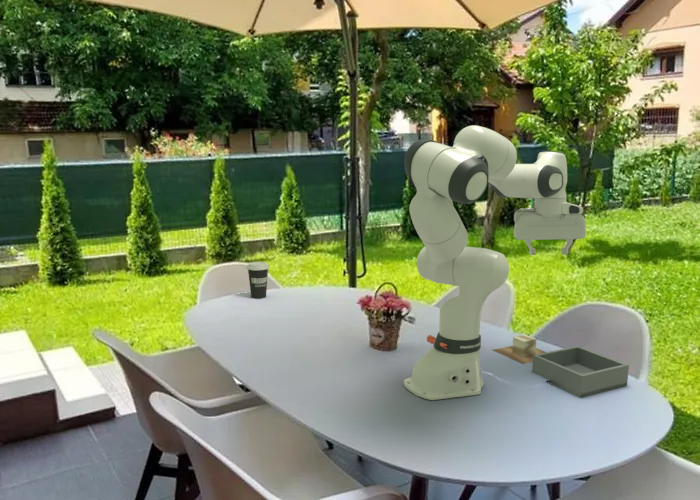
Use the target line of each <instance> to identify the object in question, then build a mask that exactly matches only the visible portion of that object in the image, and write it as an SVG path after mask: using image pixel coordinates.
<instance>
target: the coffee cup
mask: <svg viewBox="0 0 700 500" xmlns="http://www.w3.org/2000/svg"><path fill="white" fill-rule="evenodd" d="M269 267H270V266H269V264H268V262H265V261H253V262H252V261H251V262H249V263H248V265H247V267H246V269H247V272H248V281H249V289H250V297H251V298H252V299H257V300H259V299H260V300H261V299H265V298H267V291H268V290H267V289H268V288H267V286H268V272H269V269H270V268H269Z"/></svg>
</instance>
